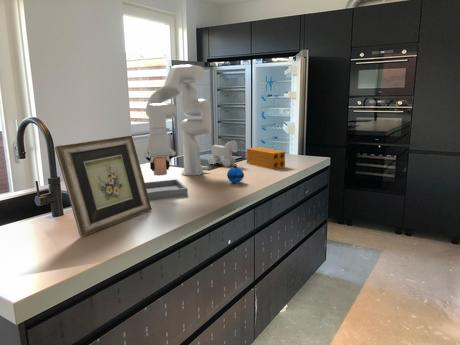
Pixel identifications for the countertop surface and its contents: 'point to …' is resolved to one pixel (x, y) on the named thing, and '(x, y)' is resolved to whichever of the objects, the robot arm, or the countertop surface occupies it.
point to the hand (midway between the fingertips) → (160, 169)
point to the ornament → (235, 174)
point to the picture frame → (103, 182)
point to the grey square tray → (165, 189)
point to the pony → (223, 154)
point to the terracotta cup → (160, 165)
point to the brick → (266, 158)
